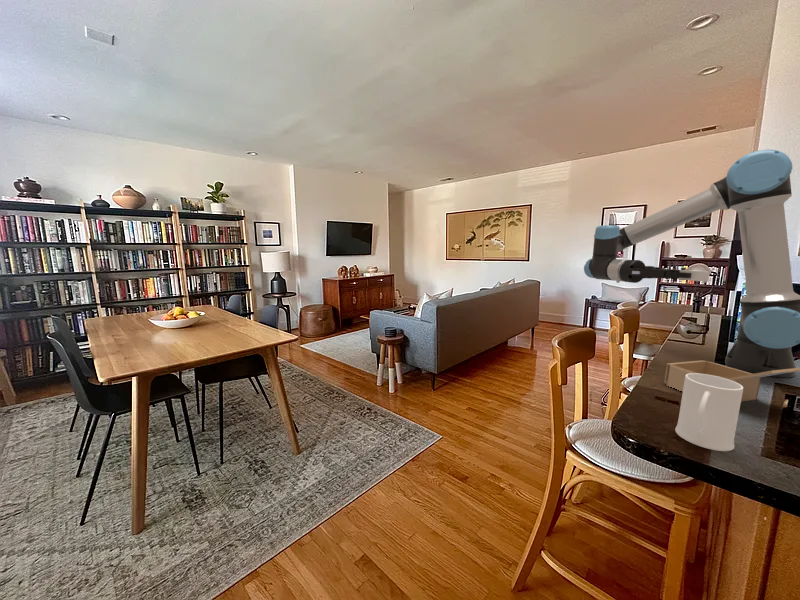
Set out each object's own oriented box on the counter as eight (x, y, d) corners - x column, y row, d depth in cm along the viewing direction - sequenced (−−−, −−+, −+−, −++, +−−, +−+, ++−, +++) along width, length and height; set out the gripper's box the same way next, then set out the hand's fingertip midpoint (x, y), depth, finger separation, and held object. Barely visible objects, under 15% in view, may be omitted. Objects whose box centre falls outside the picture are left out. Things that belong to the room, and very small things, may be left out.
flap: (760, 375, 80) (811, 366, 72) (761, 377, 80) (813, 369, 72) (722, 379, 77) (771, 370, 69) (723, 381, 77) (772, 373, 68)
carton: (701, 379, 94) (705, 359, 93) (758, 399, 82) (763, 376, 81) (660, 384, 90) (663, 363, 89) (714, 405, 78) (718, 381, 77)
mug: (720, 463, 56) (731, 398, 54) (661, 438, 63) (669, 380, 62) (740, 442, 62) (751, 384, 61) (684, 422, 70) (692, 369, 68)
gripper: (640, 281, 112) (722, 290, 89) (610, 282, 109) (686, 290, 86) (643, 259, 111) (727, 262, 88) (612, 259, 107) (690, 262, 85)
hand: (706, 276), depth 87 cm, fingers closed
